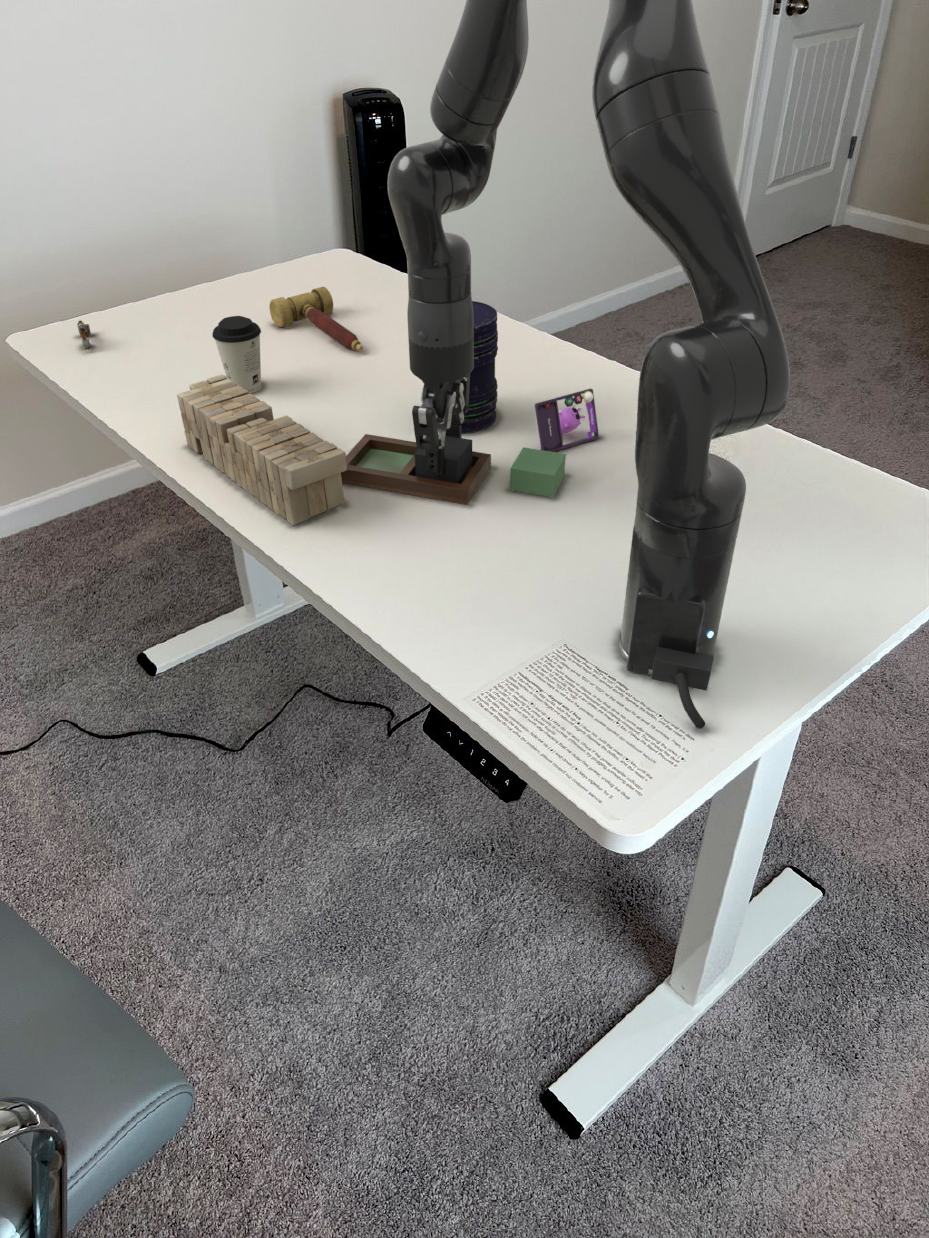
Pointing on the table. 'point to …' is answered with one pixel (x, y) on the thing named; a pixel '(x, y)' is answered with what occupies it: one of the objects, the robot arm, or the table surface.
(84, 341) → the wooden post with brackets
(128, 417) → the table surface
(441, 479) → the charcoal pad
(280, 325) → the gavel
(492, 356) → the navy oil drum
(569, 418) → the game card
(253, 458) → the block tower
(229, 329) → the coffee cup
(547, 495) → the sage pad
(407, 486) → the divided wooden tray
